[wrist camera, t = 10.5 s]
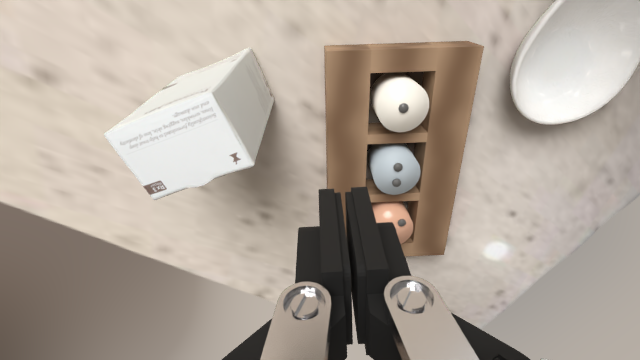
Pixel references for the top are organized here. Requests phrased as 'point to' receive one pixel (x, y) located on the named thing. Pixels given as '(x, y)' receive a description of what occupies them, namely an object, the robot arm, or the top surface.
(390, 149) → the two-pip button
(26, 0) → the top surface
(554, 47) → the spoon rest
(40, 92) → the top surface
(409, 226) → the three-pip button
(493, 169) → the top surface
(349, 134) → the wooden three-slot caddy
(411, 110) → the one-pip button
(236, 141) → the skincare box
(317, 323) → the robot arm
